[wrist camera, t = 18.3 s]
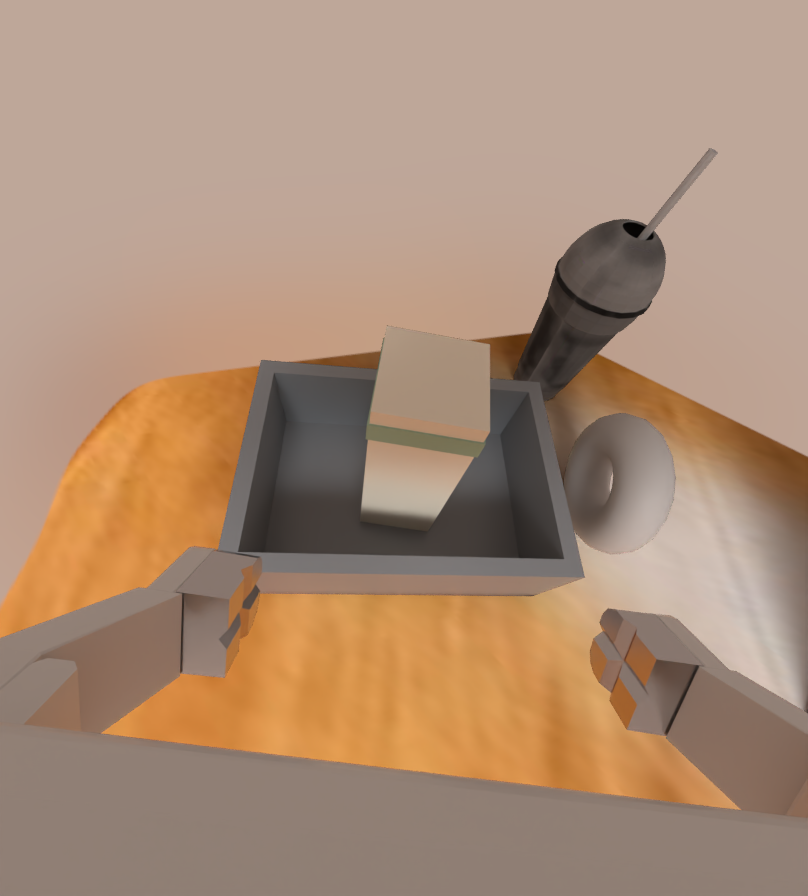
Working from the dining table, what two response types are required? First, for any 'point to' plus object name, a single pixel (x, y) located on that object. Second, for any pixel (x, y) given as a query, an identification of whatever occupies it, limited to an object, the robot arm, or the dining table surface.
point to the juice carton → (423, 425)
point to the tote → (380, 546)
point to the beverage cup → (597, 294)
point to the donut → (619, 483)
